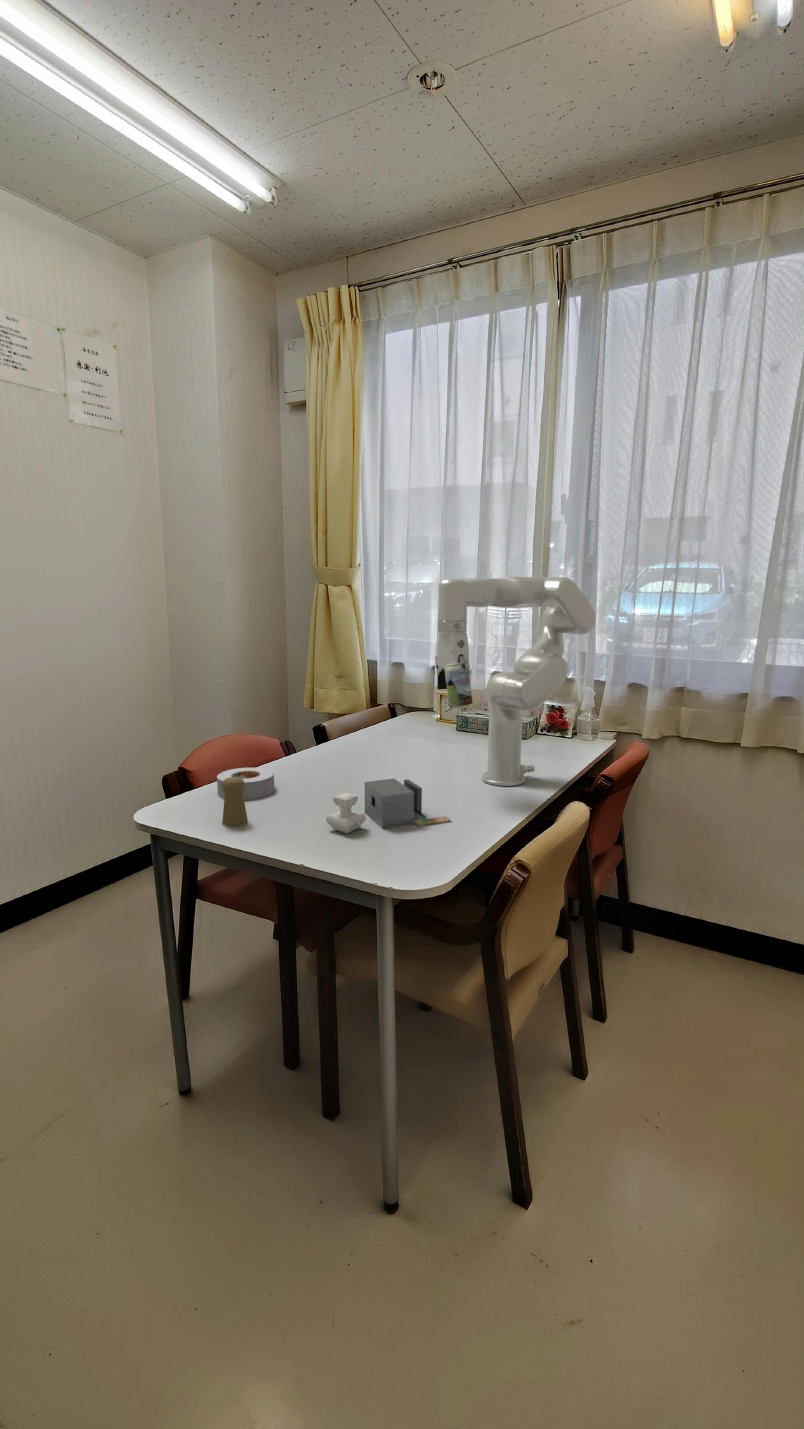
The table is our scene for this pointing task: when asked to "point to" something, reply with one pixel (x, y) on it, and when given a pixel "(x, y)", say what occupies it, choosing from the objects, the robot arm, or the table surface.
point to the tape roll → (250, 782)
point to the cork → (234, 802)
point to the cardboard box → (432, 821)
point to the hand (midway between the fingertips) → (451, 691)
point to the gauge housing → (389, 803)
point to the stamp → (345, 814)
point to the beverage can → (458, 686)
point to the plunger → (415, 796)
